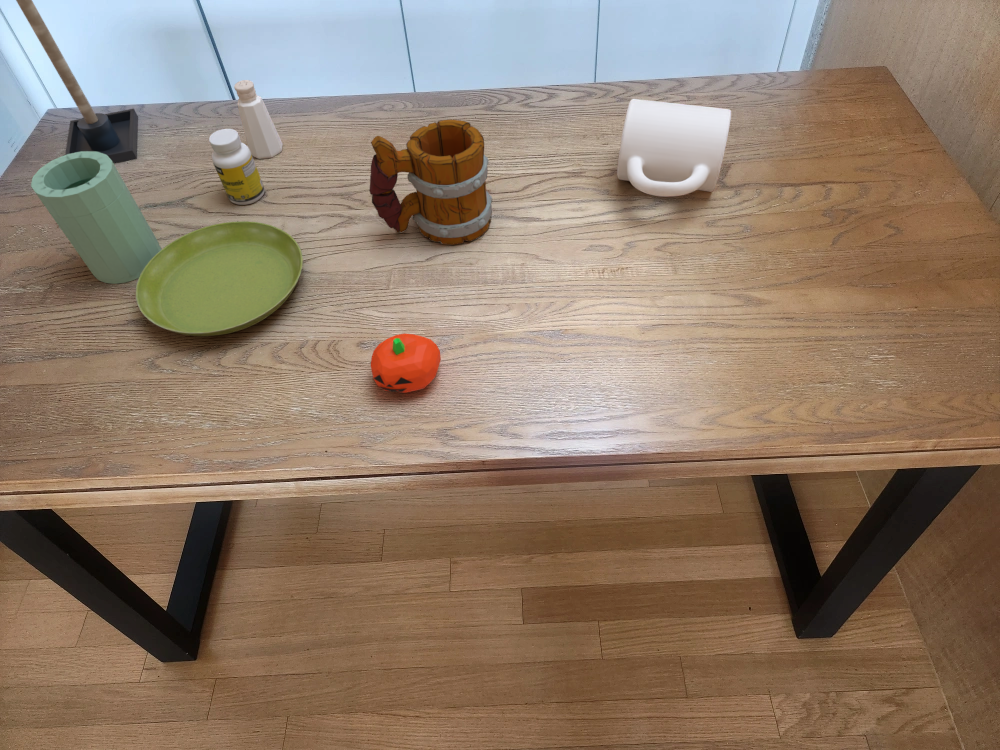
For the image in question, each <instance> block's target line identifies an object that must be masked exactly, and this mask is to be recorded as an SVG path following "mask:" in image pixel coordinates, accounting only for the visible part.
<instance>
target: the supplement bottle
mask: <svg viewBox="0 0 1000 750" xmlns="http://www.w3.org/2000/svg"><path fill="white" fill-rule="evenodd" d="M208 141H209V144H210V146H211V149H212V153H211V161H212V164H213V167H214V168H215V170H216V174H217V175H218V178H219V180H220V182H221V185H222V186H223V187H222V188H223V189H224V191H225V194H226V196H227V198H228V199H229V201H230V202H231V203H233V204H235V205H240V206H244V205H245V206H247V205H250V204H254V203H256V202H258V201H259V200H260V199H262V198H263V196H264V194H265V186H264V183H263V180H262V178H261V175H260V173H259V170H258V167H257V164H256V162H255V160H254V156H252V154H251V152H250V149H249V148H248V145H247V144H245V143H244V142H242V140H241V137H240V134H239V132H238V131H237V130H235V129H233V128H221V129H218V130H215V131H214V132H212V133H211V134H210V135H209V138H208Z"/></svg>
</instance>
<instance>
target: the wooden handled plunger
mask: <svg viewBox="0 0 1000 750" xmlns="http://www.w3.org/2000/svg"><path fill="white" fill-rule="evenodd" d="M15 2H16V3H17V4H18V7H19V8H20V10H21V12H22V13H23V15H24V17H25V18H26V21H27V22H28V24H29V26H30V27H31V29H32V30H33V33H34V35H35V36H36V37H37V39H38V41H39V43H40V45H41V46H42V49H43V50H44V51H45V53H46V55H47V57H48V58H49V61H50V62H51V64H52V65H53V67H54V70H55V71H56V72H57V75H58V76H59V78H60V79H61V82H62V83H63V85H64V87H65V88H66V89H67V92H68V93H69V95H70V97H71V99H72V100H73V102H74V104H75V105H76V107H77V109H78V111H79V113H80V114H81V116H82V117H81V118H79V119H80V120H79V121H78V123H77V126H78V128H79V129H80V131H81V133H82V134H83V136H84V138H85V139H86V141H87V143H88V145H89V146H90V148H91V149H92V150H94V151H105V150H109V149H111V148H113V147H115V146H116V145H117V144H118V143H119V141H120V140H119V137H118V135H117V133H116V131H115V130H114V128H113V126H112V124H111V122H110V120H109V119H108V117H107V116H106V115H105V114H106V113H101V112H97V113H95V111H94V109H93V107H92V105H91V103H90V101H89V100H88V98H87V96H86V95H85V92H84V91H83V89H82V88H81V85H80V84H79V82H78V80H77V78H76V77H75V74H74V73H73V71H72V70H71V67H70V66H69V64H68V62H67V60H66V59H65V57H64V55H63V54H62V52H61V49H60V48H59V46H58V44H57V43H56V41H55V39H54V37H53V35H52V33H51V32H50V30H49V29H48V26H47V25H46V22H45V21H44V19H43V18H42V16H41V14H40V12H39V10H38V8H37V7H36V4H35V3H34V2H33V0H15Z"/></svg>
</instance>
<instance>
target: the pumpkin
mask: <svg viewBox="0 0 1000 750" xmlns="http://www.w3.org/2000/svg"><path fill="white" fill-rule="evenodd" d="M441 360H442V359H441V350H440V349H439V346H438V344H437V343H435V341H433V340H432V339H431V338H428V337H425V336H422V335H418V334H413V333H406V332H405V333H399V334H395V335H393V336H390V337H388V338H386V339H385V340H383V341H382V342H380V343H379V344H378V345H377V346H376V347H375V349H374V350H373V351H372V355H371V359H370V369H371V375H372V378H373V381H374V382H375V384H376V386H377V387H378V388H379V389H381V390H383V391H385V392H392V393H404V394H405V393H410V392H415V391H419V390H423V389H425V388H426V387H427V386H428V385H429V384H431V383H432V382H433V380H434V379H435V378H436V376H437V374H438V371H439V368H440V364H441Z"/></svg>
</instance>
